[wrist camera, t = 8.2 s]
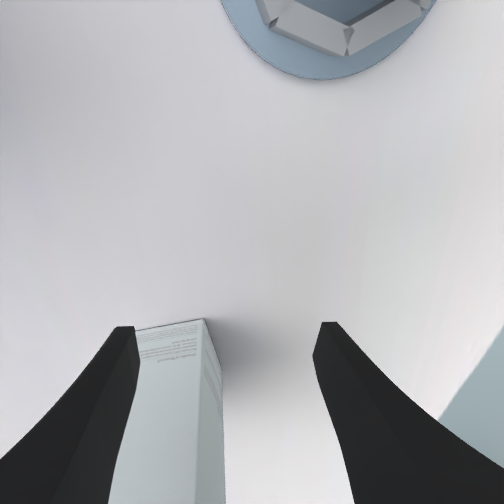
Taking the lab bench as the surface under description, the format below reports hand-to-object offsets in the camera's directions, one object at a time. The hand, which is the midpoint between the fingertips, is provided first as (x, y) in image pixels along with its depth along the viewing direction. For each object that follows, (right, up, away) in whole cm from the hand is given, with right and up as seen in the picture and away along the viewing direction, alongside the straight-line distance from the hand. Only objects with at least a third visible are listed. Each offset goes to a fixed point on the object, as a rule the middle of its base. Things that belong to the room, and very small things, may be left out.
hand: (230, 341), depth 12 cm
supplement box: (-6, -5, +15) cm, 17 cm away
